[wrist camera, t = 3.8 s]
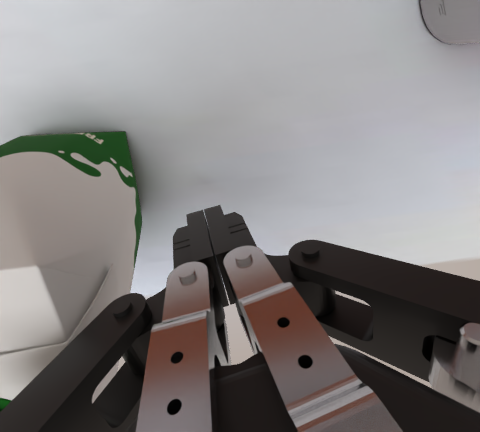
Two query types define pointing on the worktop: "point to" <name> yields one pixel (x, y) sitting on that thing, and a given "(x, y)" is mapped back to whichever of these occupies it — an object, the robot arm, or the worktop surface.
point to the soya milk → (61, 245)
